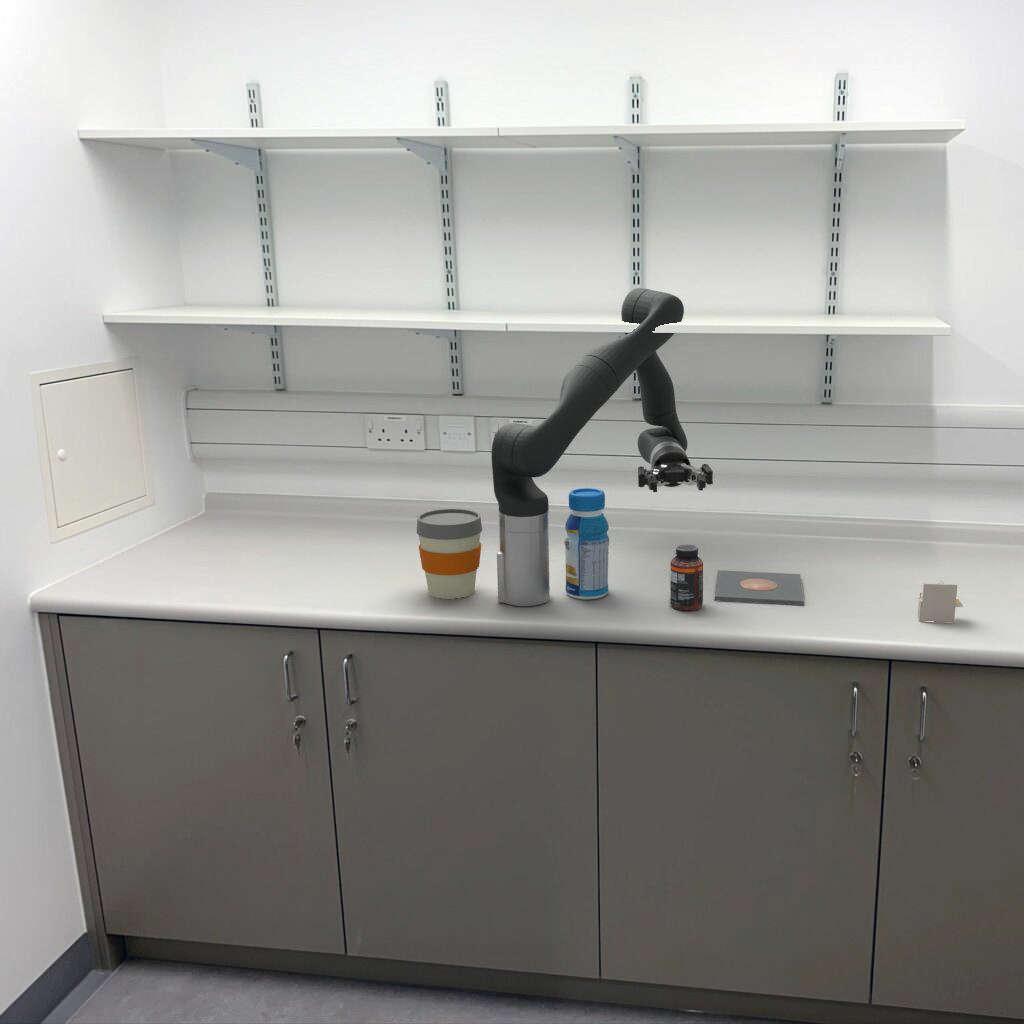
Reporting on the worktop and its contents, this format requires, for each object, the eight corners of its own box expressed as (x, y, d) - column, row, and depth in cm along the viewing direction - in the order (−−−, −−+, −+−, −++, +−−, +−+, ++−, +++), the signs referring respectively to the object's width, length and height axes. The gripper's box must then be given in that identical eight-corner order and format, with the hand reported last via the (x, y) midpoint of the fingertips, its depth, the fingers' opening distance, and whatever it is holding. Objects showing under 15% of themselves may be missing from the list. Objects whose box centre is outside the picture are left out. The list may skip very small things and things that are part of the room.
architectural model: (915, 617, 186) (918, 577, 184) (956, 619, 185) (960, 579, 183) (919, 624, 183) (922, 584, 181) (961, 626, 182) (965, 585, 180)
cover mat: (714, 600, 195) (714, 595, 195) (717, 573, 210) (717, 569, 210) (803, 605, 192) (803, 600, 192) (800, 577, 207) (800, 573, 207)
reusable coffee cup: (407, 597, 200) (403, 521, 196) (438, 578, 211) (435, 506, 207) (466, 605, 195) (463, 528, 191) (494, 585, 206) (492, 511, 202)
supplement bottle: (698, 600, 196) (700, 542, 193) (705, 611, 190) (707, 551, 187) (667, 601, 195) (668, 543, 193) (672, 612, 190) (674, 552, 187)
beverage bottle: (599, 603, 195) (599, 499, 190) (557, 597, 199) (556, 494, 194) (615, 589, 202) (616, 488, 197) (575, 584, 206) (574, 485, 201)
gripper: (634, 446, 211) (639, 468, 196) (705, 443, 211) (716, 465, 195) (634, 482, 214) (640, 507, 198) (705, 479, 213) (716, 504, 197)
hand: (678, 486), depth 197 cm, fingers open, 8 cm apart
